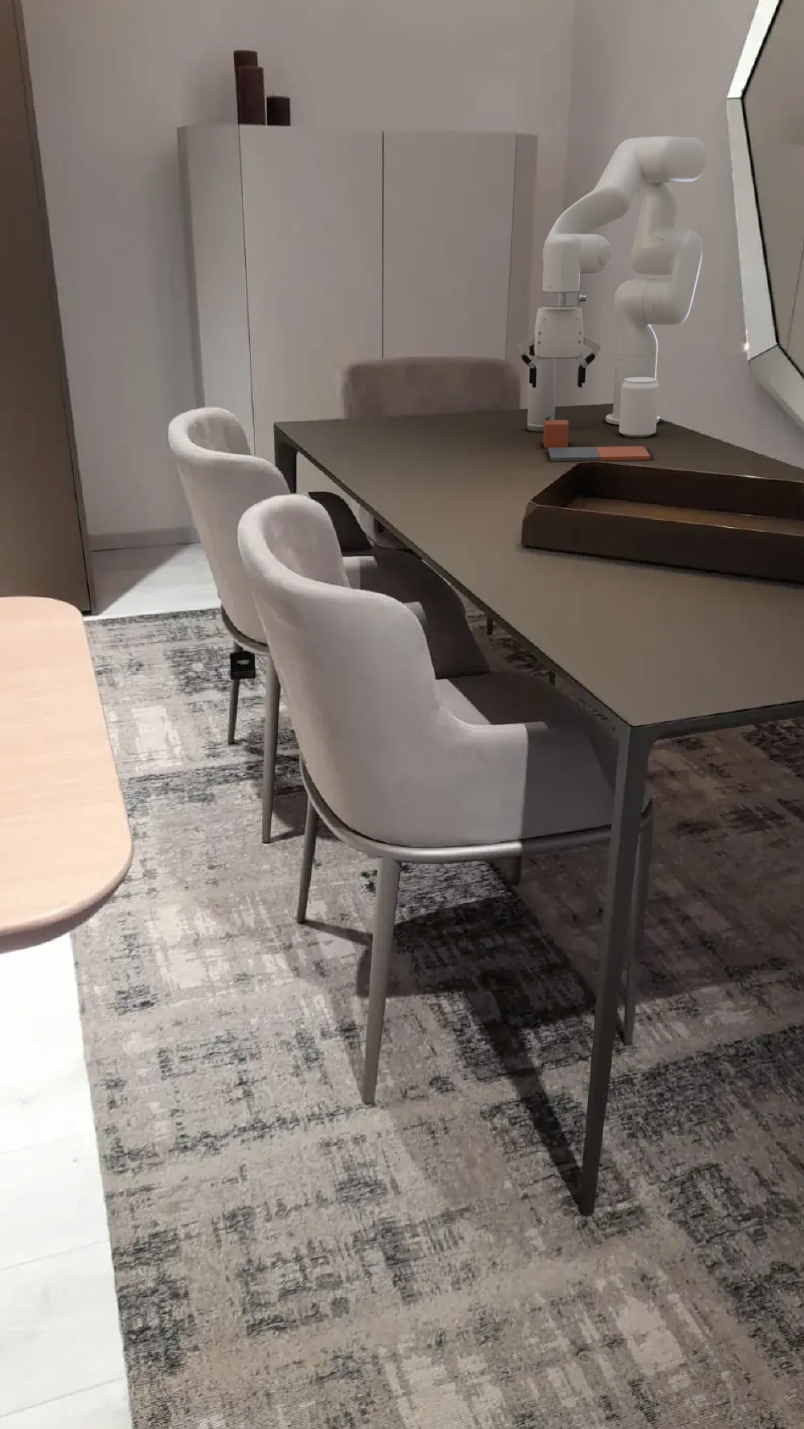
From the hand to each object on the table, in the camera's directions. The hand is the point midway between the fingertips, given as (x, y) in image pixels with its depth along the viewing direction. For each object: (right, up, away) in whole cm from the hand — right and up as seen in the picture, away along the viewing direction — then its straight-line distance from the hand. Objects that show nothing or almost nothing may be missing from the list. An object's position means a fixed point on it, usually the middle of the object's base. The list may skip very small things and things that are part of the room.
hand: (556, 387), depth 233 cm
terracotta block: (0, -11, +6) cm, 12 cm away
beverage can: (+20, -7, +14) cm, 26 cm away
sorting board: (+8, -16, -5) cm, 18 cm away
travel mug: (0, -3, +23) cm, 23 cm away
